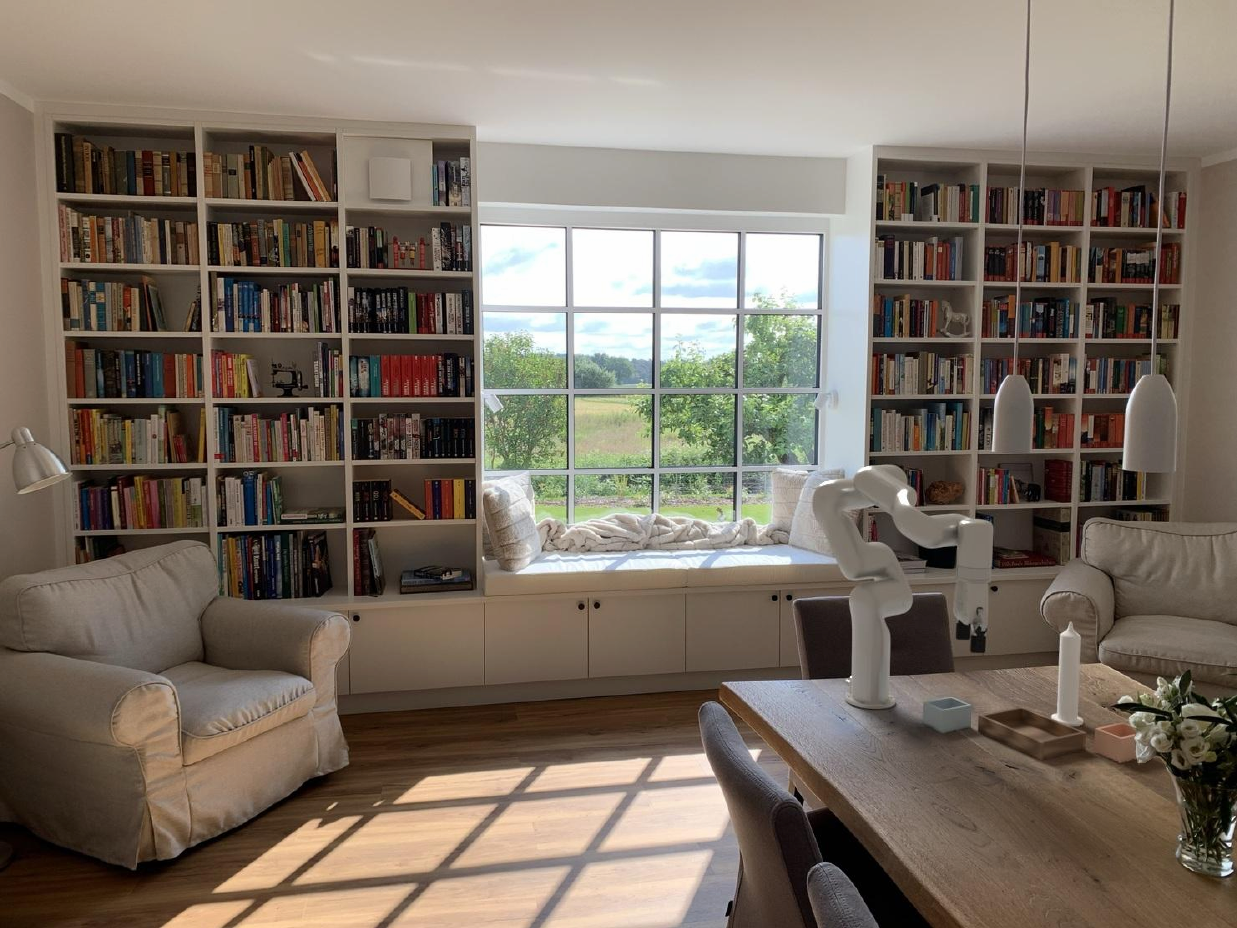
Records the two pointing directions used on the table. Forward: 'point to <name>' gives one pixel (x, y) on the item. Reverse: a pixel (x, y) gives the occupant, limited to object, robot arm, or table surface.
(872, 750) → the table surface
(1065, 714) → the candle
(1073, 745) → the walnut crate
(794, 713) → the table surface
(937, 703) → the bluegrey crate
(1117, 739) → the terracotta crate
